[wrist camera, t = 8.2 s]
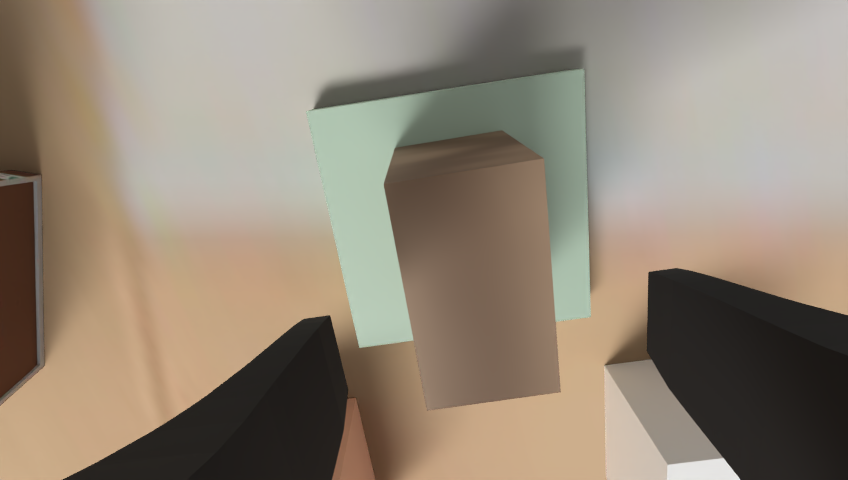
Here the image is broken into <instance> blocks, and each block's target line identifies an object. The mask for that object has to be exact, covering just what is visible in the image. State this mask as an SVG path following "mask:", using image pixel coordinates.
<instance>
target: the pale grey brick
mask: <svg viewBox="0 0 848 480" xmlns="http://www.w3.org/2000/svg"><path fill="white" fill-rule="evenodd" d="M604 381H605V445H606V478H607V480H740V478H739V477H738V476H737V475H736V473H735V472H734V471H733V470H732V468H731V467H730V466H729V465H728V463H727V462H726V461H725V459H724V458H723V457H722V456H721V454H720V453H719V452H718V451H717V449H716V448H715V447H714V446H713V444H712V443H711V442H710V441H709V439H708V438H707V437H706V436H705V434H704V433H703V432H702V431H701V429H700V428H699V427H698V426H697V424H696V423H695V422H694V420H693V419H692V418H691V417H690V415H689V414H688V413H687V412H686V410H685V409H684V408H683V406H682V405H681V404H680V403H679V401H678V400H677V399H676V397H675V396H674V395H673V393H672V392H671V391H670V389H669V388H668V386H667V385H666V383H665V381H664V380H663V378H662V377H661V375H660V373H659V372H658V370H657V368H656V366H655V364H654V363H653V361H652V359H650V360H642V361H634V362H627V363H619V364H611V365H604Z"/></svg>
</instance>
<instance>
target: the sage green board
mask: <svg viewBox="0 0 848 480" xmlns="http://www.w3.org/2000/svg"><path fill="white" fill-rule="evenodd" d="M306 113H307V118H308V122H309V127H310V131H311V135H312V140H313V144H314V149H315V153H316V158H317V162H318V167H319V171H320V175H321V180H322V184H323V189H324V193H325V198H326V202H327V207H328V211H329V215H330V220H331V224H332V229H333V233H334V238H335V242H336V247H337V251H338V255H339V260H340V264H341V269H342V273H343V278H344V282H345V287H346V291H347V295H348V300H349V304H350V309H351V313H352V318H353V322H354V327H355V331H356V335H357V340H358V344H359V348H362V347H369V346H377V345H384V344H392V343H399V342H407V341H414V340H413V335H412V329H411V324H410V319H409V314H408V309H407V304H406V298H405V293H404V288H403V283H402V278H401V272H400V267H399V262H398V257H397V252H396V246H395V241H394V236H393V231H392V226H391V220H390V215H389V210H388V205H387V200H386V195H385V189H384V181H385V178H386V175H387V171H388V168H389V165H390V162H391V159H392V155H393V152H394V149H395V148H396V147H402V146H409V145H415V144H421V143H427V142H433V141H439V140H445V139H452V138H458V137H464V136H470V135H476V134H482V133H488V132H495V131H501V130H503V131H504V132H505V133H507V134H508V135H510V136H511V137H513V138H514V139H516V140H517V141H519V142H520V143H522V144H523V145H525V146H526V147H528V148H529V149H531V150H532V151H534V152H535V153H537V154H538V155H540V156H541V157H543V158H544V164H545V178H546V193H547V207H548V221H549V235H550V249H551V263H552V277H553V292H554V306H555V320H556V322H557V321H564V320H572V319H579V318H587V317H591V309H590V271H589V233H588V195H587V156H586V118H585V80H584V69H571V70H565V71H558V72H552V73H545V74H539V75H532V76H526V77H519V78H513V79H506V80H500V81H493V82H487V83H480V84H474V85H467V86H461V87H454V88H448V89H441V90H435V91H428V92H422V93H415V94H409V95H402V96H396V97H389V98H383V99H376V100H370V101H363V102H357V103H350V104H343V105H337V106H330V107H324V108H317V109H312V110H309V111H306Z"/></svg>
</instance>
